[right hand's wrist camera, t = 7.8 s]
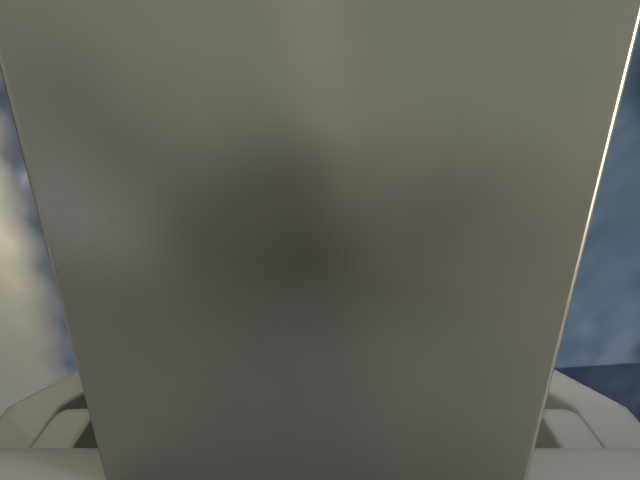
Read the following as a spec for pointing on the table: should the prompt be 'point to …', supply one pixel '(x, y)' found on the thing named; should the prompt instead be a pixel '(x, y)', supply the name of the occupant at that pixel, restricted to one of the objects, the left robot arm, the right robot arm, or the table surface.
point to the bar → (315, 222)
